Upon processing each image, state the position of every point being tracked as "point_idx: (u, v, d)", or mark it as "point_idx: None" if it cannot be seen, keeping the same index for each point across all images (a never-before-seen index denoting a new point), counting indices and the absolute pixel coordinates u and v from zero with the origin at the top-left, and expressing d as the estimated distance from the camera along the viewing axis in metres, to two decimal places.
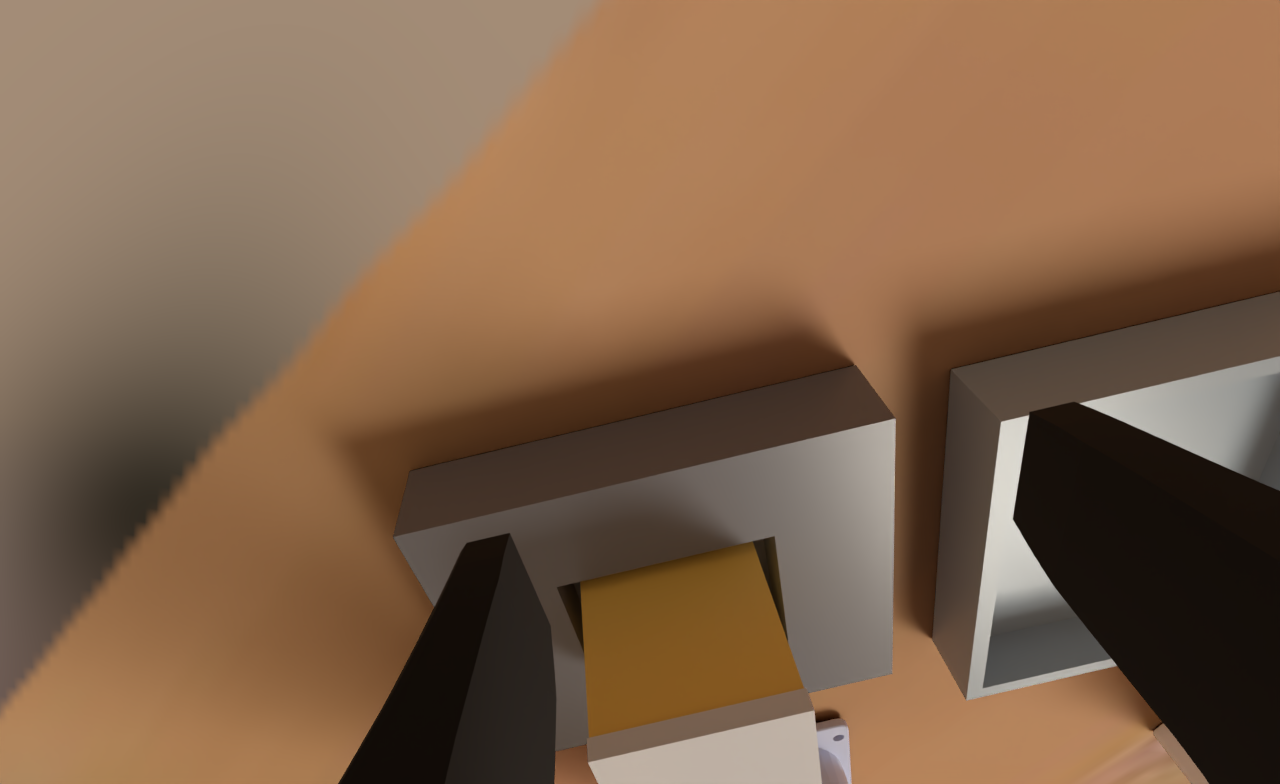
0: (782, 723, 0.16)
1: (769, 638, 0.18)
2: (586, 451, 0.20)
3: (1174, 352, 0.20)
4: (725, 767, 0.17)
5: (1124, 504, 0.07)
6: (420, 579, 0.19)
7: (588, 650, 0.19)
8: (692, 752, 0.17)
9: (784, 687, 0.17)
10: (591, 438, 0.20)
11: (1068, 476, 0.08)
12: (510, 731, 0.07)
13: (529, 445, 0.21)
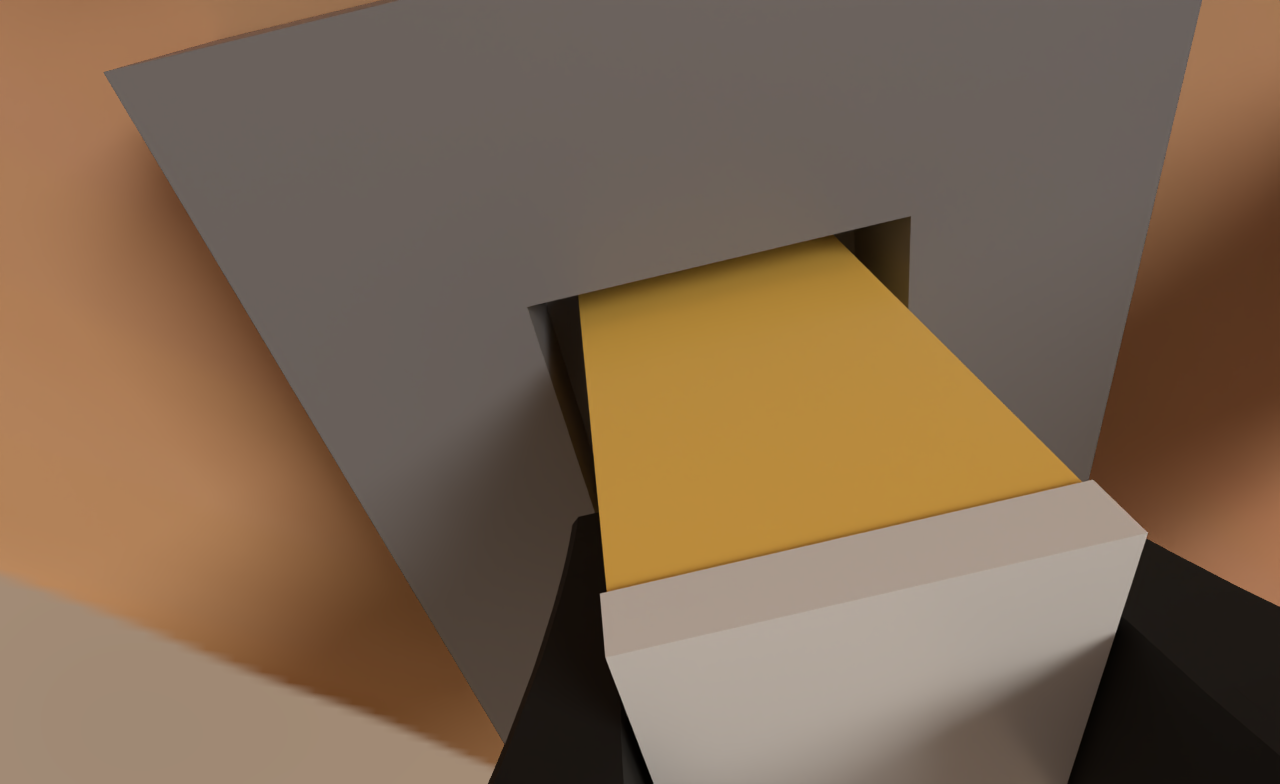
0: (658, 708, 0.05)
1: None
2: None
3: None
4: (839, 768, 0.06)
5: None
6: None
7: None
8: None
9: None
10: None
11: None
12: None
13: None
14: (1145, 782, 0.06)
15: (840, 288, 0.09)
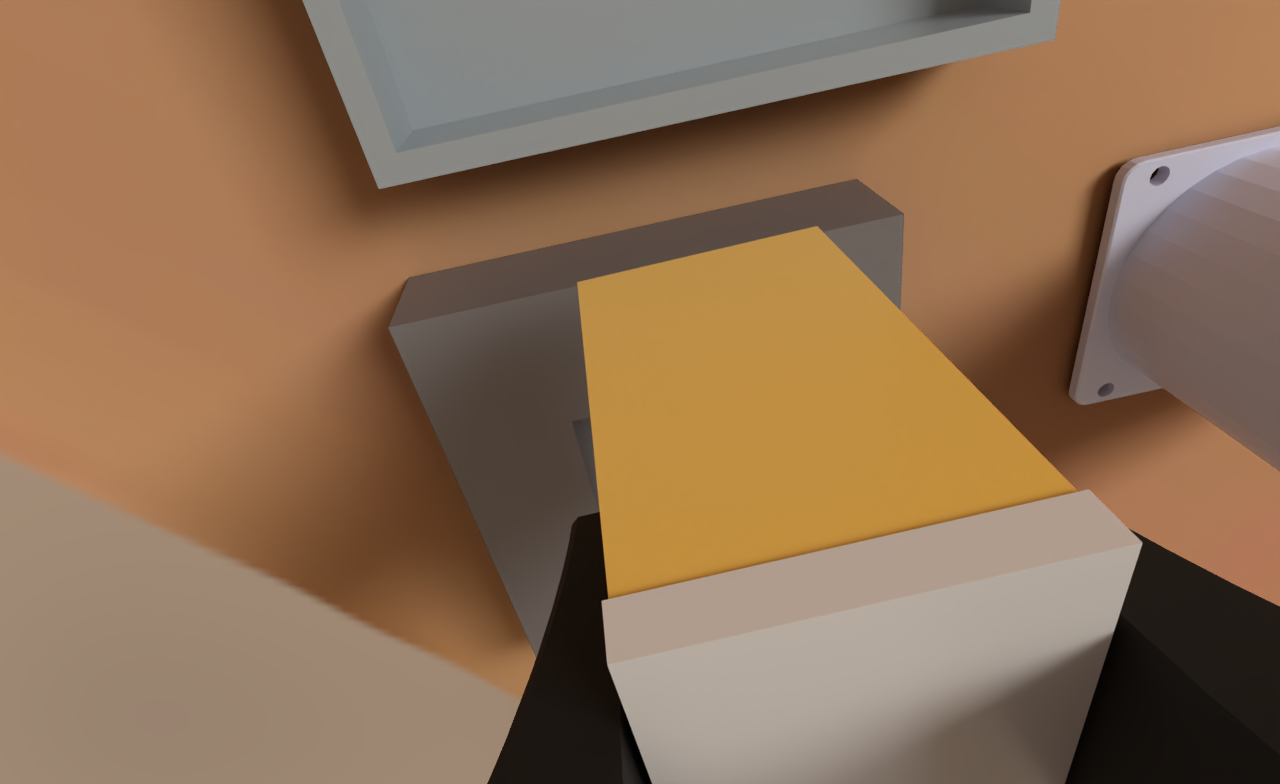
0: (658, 715, 0.06)
1: None
2: None
3: None
4: (837, 773, 0.06)
5: None
6: None
7: None
8: None
9: None
10: None
11: None
12: None
13: None
14: (1146, 782, 0.06)
15: (839, 295, 0.09)
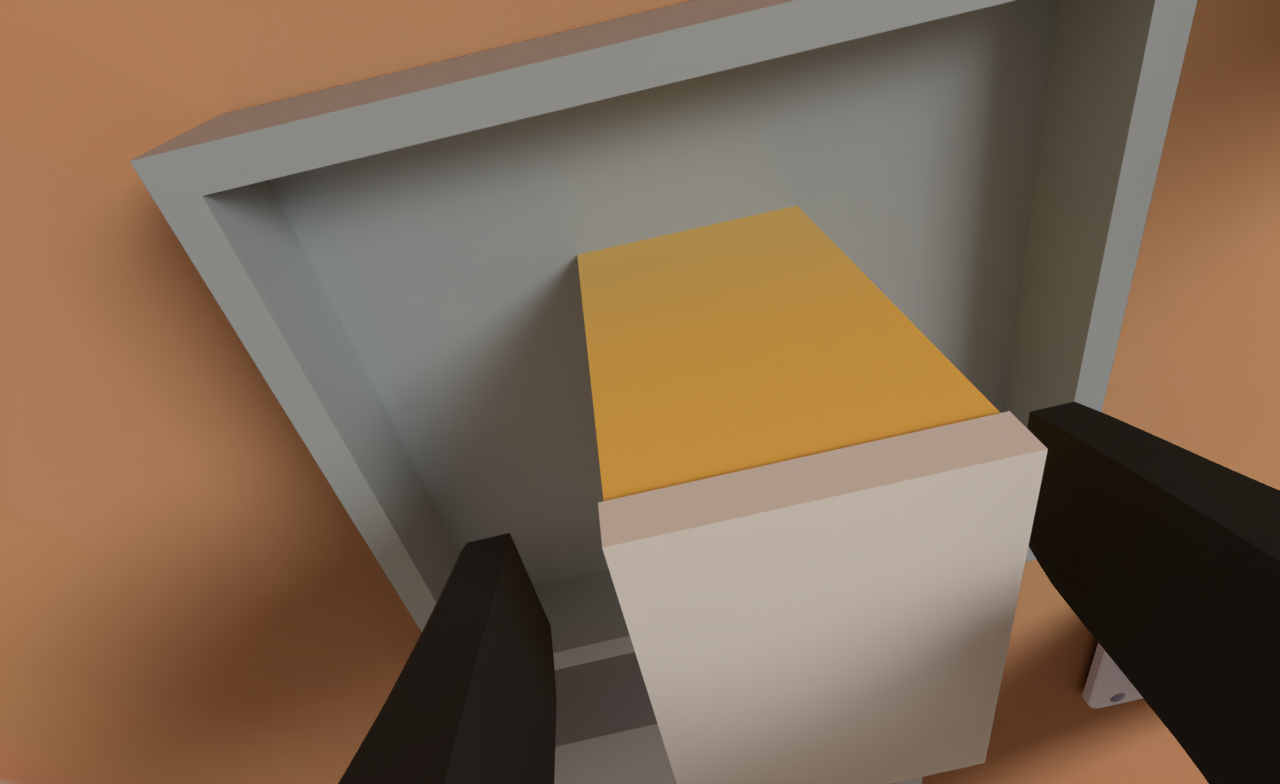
0: (645, 598, 0.07)
1: None
2: None
3: None
4: (800, 664, 0.07)
5: (1124, 504, 0.07)
6: None
7: None
8: (712, 719, 0.08)
9: None
10: None
11: (1068, 476, 0.08)
12: (510, 732, 0.07)
13: None
14: None
15: (812, 263, 0.10)
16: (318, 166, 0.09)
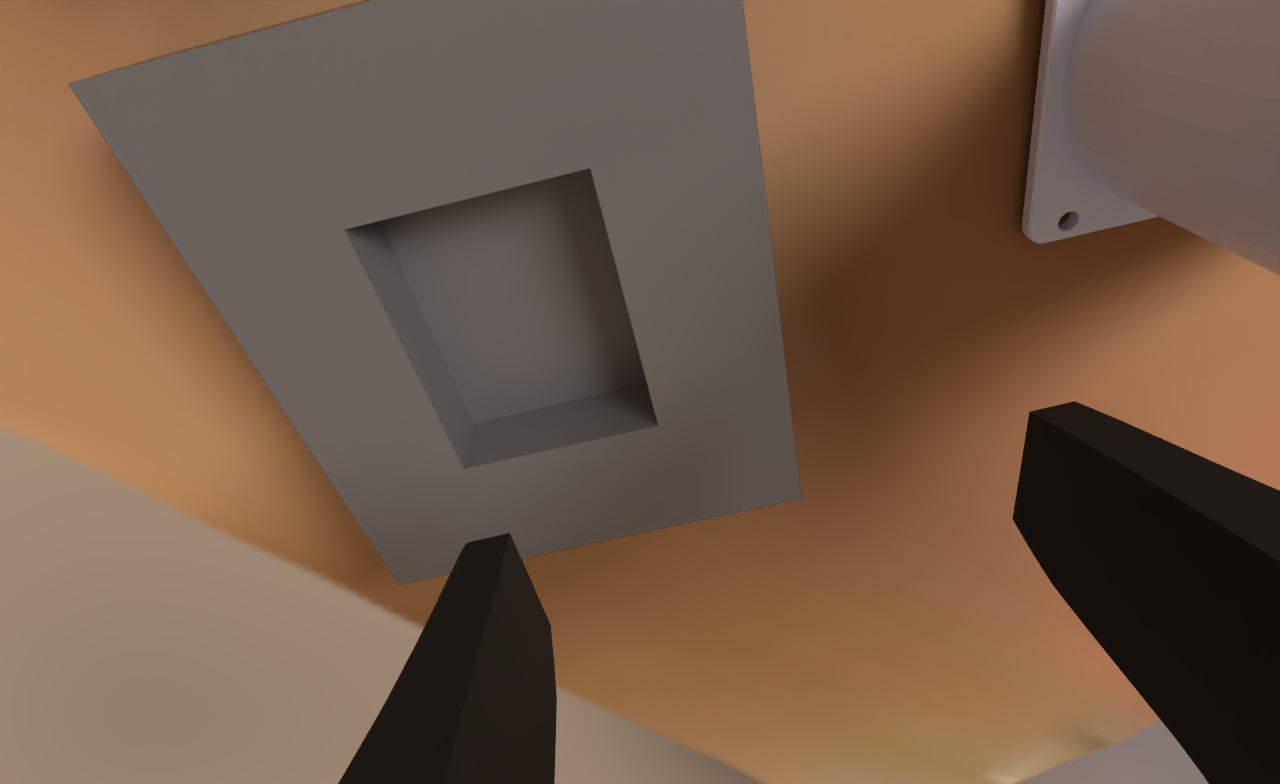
0: None
1: None
2: None
3: None
4: None
5: (1124, 504, 0.07)
6: None
7: None
8: None
9: None
10: None
11: (1068, 476, 0.08)
12: (510, 731, 0.07)
13: None
14: None
15: None
16: None
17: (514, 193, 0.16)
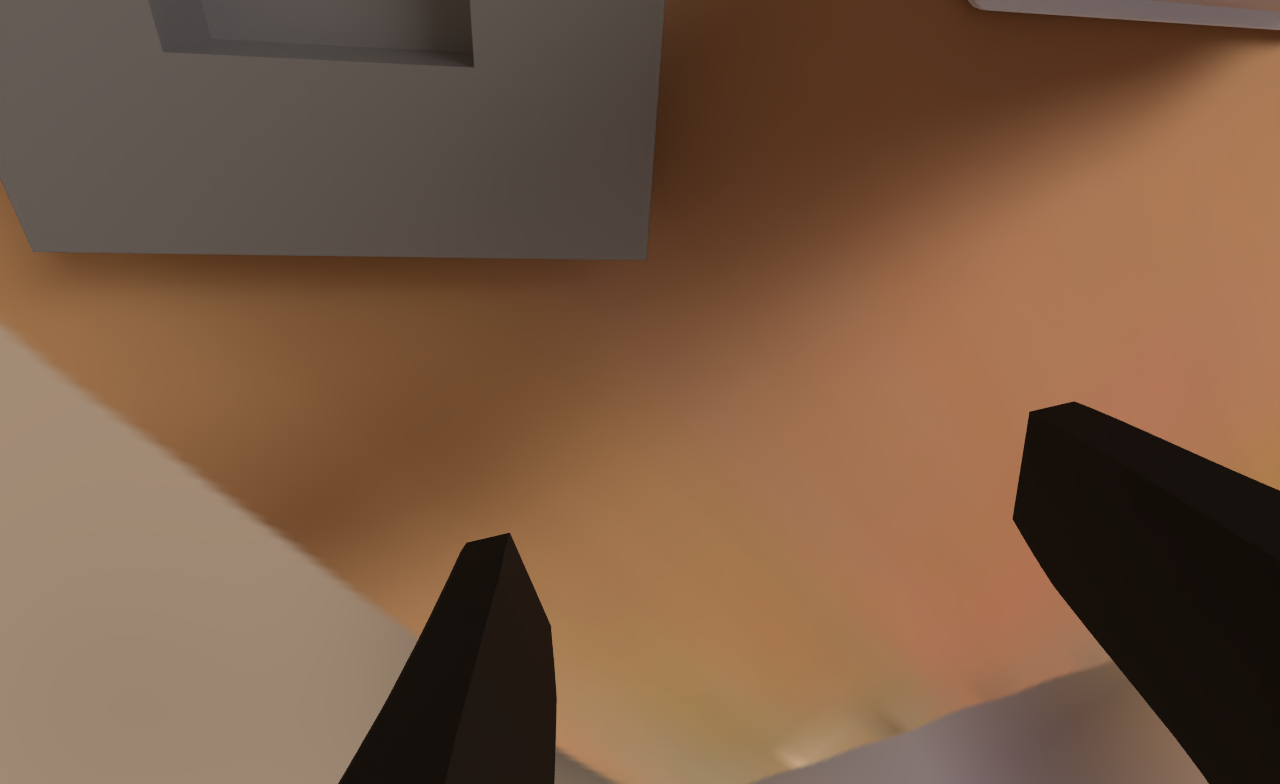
0: None
1: None
2: None
3: None
4: None
5: (1124, 504, 0.07)
6: (132, 249, 0.13)
7: None
8: None
9: None
10: None
11: (1068, 476, 0.08)
12: (510, 730, 0.07)
13: None
14: None
15: None
16: None
17: None
